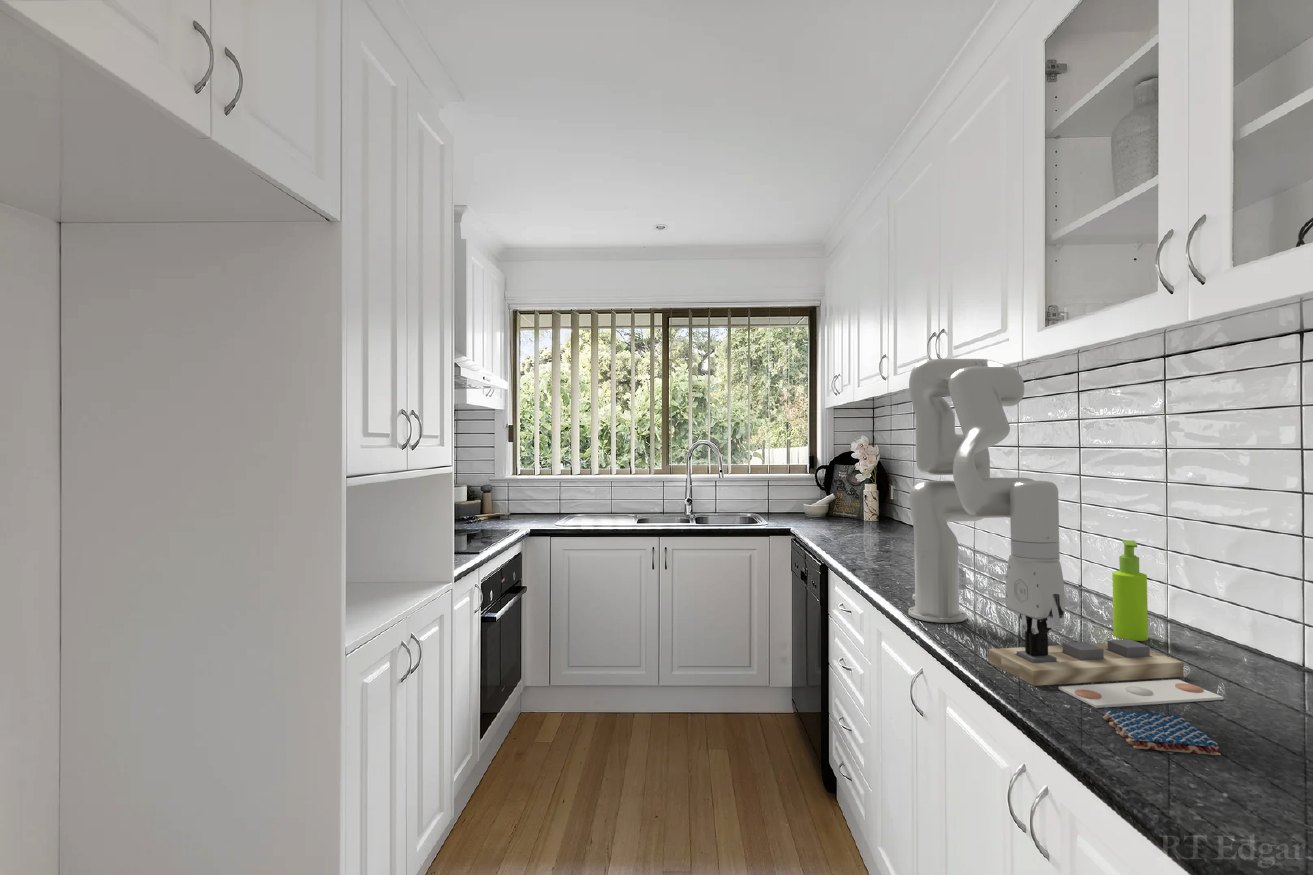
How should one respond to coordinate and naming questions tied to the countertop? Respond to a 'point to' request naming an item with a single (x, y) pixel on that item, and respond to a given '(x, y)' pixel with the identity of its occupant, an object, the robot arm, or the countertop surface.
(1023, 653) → the button
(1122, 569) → the soap dispenser
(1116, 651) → the button
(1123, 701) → the card
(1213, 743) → the woven mat
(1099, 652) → the button
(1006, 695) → the countertop surface
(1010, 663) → the button board
